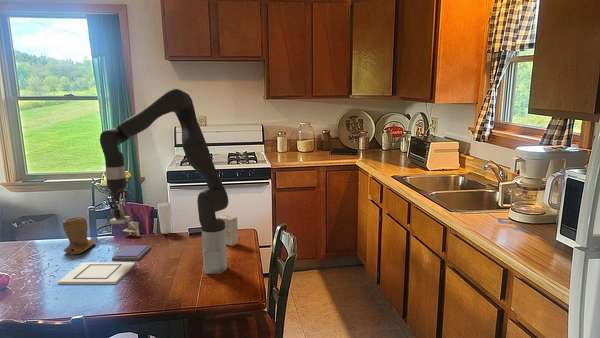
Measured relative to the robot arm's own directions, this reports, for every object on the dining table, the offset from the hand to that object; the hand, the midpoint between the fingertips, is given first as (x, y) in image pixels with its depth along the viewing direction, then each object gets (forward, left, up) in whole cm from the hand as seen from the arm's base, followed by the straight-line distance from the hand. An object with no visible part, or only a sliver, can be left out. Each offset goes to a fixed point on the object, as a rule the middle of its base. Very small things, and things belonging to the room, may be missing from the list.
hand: (119, 216), depth 177 cm
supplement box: (+18, -42, -19) cm, 50 cm away
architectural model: (+29, +8, -20) cm, 36 cm away
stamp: (0, 0, -3) cm, 3 cm away
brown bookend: (+11, +26, -19) cm, 34 cm away
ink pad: (+6, -1, -19) cm, 20 cm away
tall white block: (+34, -7, -19) cm, 40 cm away
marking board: (-15, +4, -19) cm, 24 cm away
